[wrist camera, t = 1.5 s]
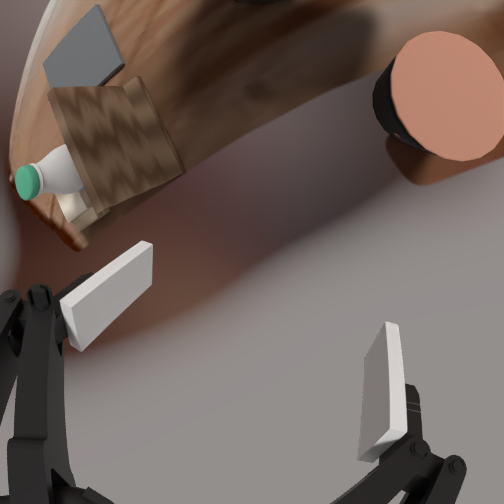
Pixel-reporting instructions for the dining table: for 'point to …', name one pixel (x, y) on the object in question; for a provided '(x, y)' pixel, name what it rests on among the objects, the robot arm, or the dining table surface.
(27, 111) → the dining table surface
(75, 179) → the milk bottle
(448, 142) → the coffee jar
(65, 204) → the offcut rack
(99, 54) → the charcoal mat
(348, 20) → the dining table surface
